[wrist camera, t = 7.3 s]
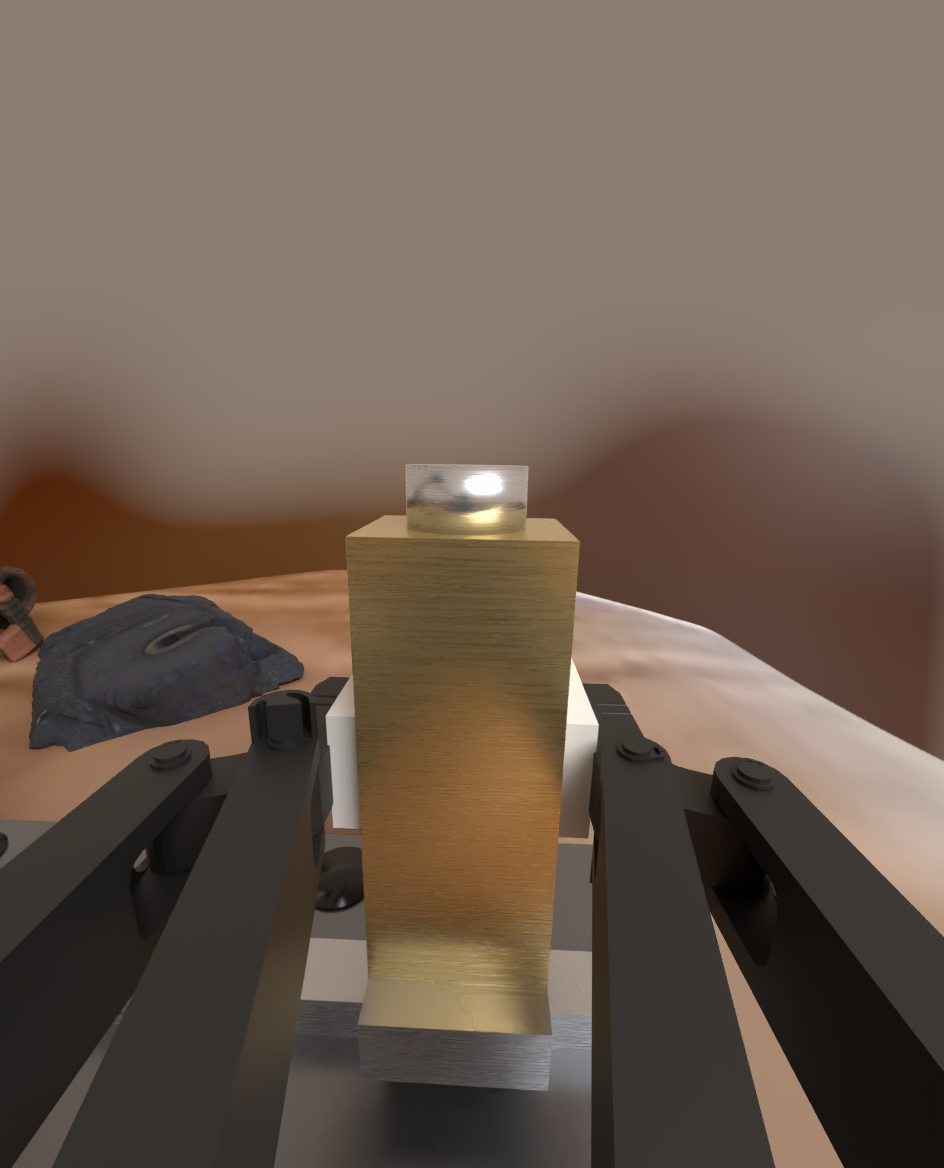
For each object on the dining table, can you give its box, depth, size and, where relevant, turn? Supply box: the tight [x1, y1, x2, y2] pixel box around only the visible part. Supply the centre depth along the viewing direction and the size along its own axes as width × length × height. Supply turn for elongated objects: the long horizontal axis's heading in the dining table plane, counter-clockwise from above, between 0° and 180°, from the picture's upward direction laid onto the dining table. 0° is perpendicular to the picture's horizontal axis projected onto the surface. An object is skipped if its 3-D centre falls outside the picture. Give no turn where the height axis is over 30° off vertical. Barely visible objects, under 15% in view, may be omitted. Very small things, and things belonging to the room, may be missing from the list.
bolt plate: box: [0, 820, 593, 1168], centre depth 12 cm, size 26×12×15 cm, turn 88°
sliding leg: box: [346, 464, 580, 1091], centre depth 12 cm, size 4×7×14 cm, turn 178°
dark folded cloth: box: [29, 594, 304, 752], centre depth 37 cm, size 15×22×5 cm
